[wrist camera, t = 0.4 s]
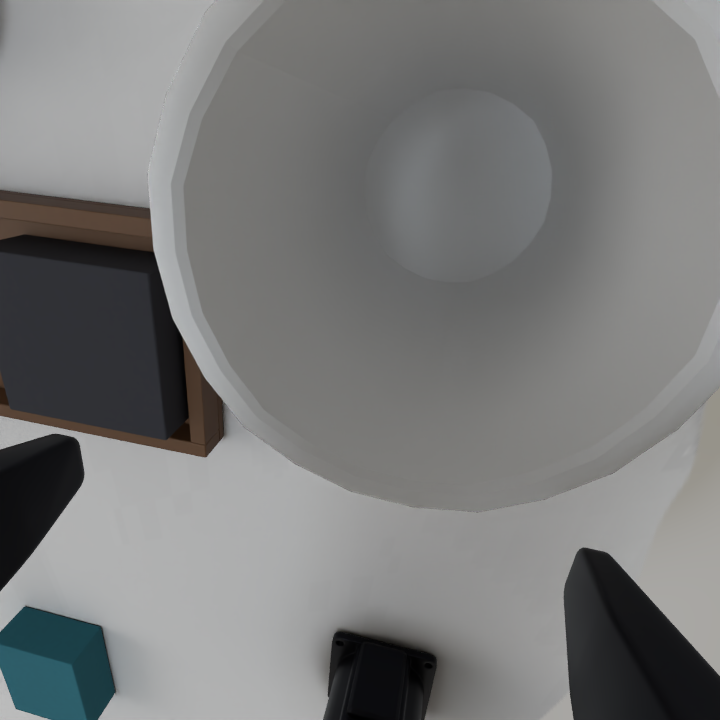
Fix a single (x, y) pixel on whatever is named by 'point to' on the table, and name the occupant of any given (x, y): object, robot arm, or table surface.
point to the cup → (447, 235)
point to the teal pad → (55, 666)
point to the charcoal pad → (90, 336)
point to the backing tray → (124, 230)
